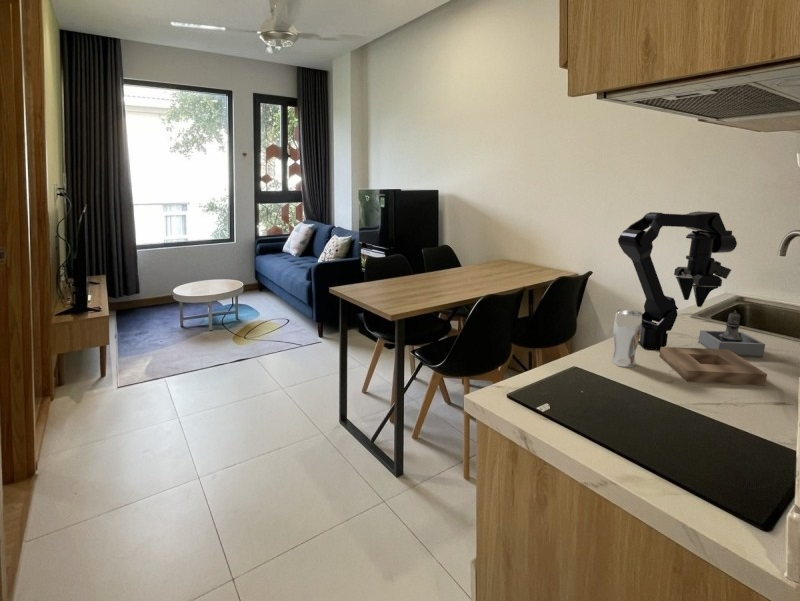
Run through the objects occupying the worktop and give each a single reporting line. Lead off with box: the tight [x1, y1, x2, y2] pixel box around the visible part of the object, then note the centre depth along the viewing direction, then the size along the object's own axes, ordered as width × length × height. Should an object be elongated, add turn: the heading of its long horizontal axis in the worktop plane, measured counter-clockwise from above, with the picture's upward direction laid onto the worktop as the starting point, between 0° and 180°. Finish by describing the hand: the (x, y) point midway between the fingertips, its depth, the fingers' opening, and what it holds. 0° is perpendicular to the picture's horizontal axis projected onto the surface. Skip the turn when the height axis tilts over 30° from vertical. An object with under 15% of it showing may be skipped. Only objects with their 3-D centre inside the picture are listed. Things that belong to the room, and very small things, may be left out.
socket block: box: [658, 346, 768, 386], centre depth 123 cm, size 18×18×3 cm
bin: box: [698, 329, 766, 358], centre depth 138 cm, size 12×12×4 cm
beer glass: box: [611, 308, 642, 368], centre depth 127 cm, size 7×7×15 cm
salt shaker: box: [719, 309, 743, 342], centre depth 137 cm, size 6×6×12 cm
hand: (692, 303), depth 143 cm, fingers open, 9 cm apart
